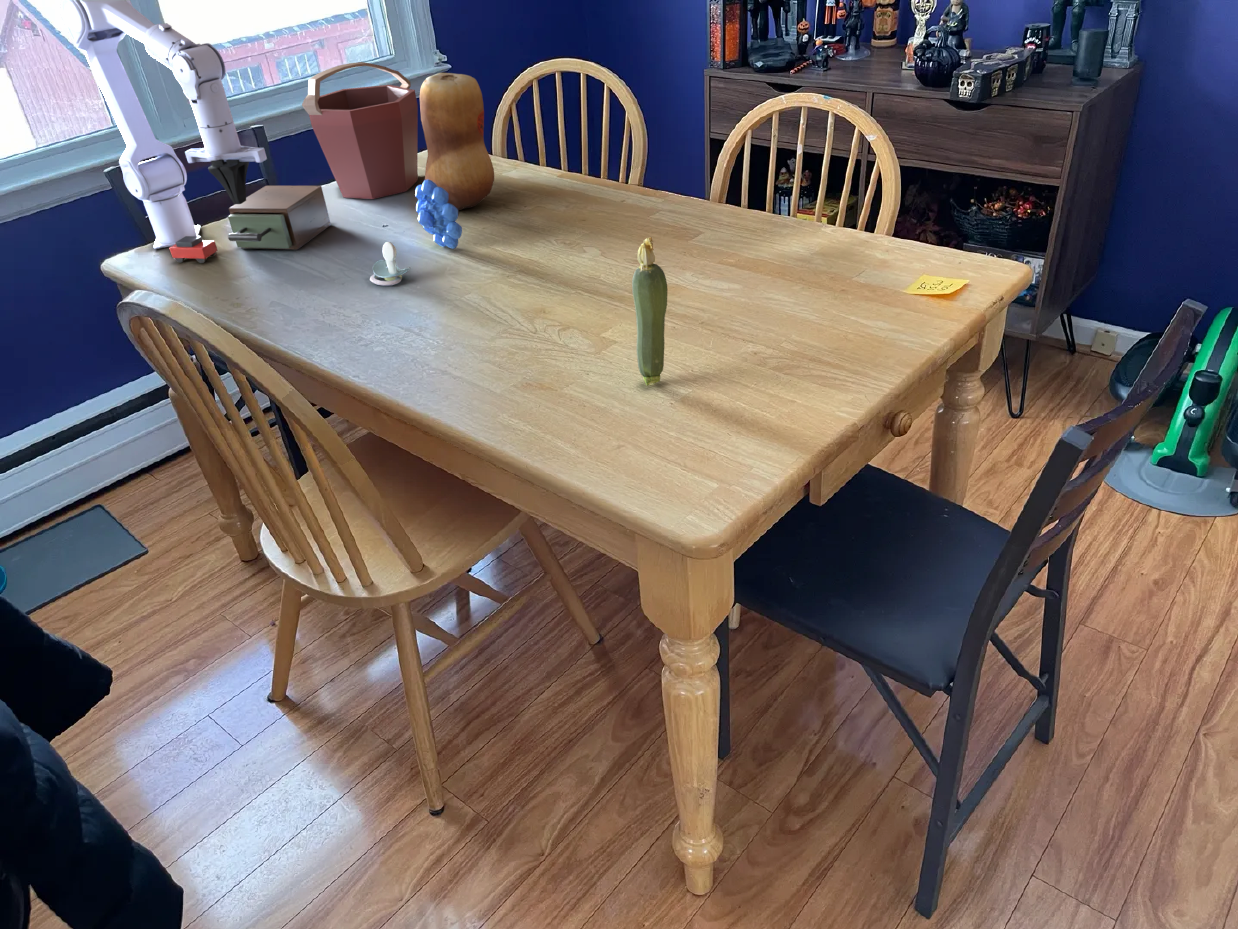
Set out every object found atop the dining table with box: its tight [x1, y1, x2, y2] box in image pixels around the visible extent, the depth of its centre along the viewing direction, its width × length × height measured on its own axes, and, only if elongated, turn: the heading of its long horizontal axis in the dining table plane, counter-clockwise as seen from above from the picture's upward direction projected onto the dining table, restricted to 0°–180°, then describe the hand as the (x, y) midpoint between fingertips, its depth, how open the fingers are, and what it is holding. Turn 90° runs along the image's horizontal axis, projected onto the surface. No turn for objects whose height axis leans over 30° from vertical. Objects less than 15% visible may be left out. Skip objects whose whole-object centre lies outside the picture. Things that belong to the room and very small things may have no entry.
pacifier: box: [369, 241, 412, 286], centre depth 155 cm, size 7×6×6 cm
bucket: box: [301, 61, 419, 200], centre depth 195 cm, size 24×22×25 cm
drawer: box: [227, 212, 292, 248], centre depth 173 cm, size 17×11×6 cm, turn 167°
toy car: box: [168, 235, 219, 264], centre depth 171 cm, size 7×4×4 cm, turn 77°
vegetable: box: [631, 236, 669, 387], centre depth 115 cm, size 4×4×20 cm
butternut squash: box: [419, 72, 495, 211], centre depth 179 cm, size 14×13×25 cm
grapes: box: [414, 179, 463, 250], centre depth 164 cm, size 12×7×12 cm, turn 45°
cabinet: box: [228, 185, 332, 250], centre depth 177 cm, size 13×12×8 cm
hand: (240, 202), depth 165 cm, fingers closed
